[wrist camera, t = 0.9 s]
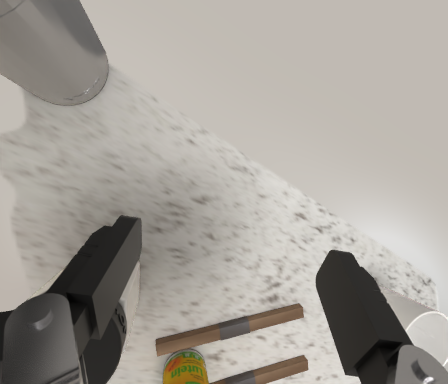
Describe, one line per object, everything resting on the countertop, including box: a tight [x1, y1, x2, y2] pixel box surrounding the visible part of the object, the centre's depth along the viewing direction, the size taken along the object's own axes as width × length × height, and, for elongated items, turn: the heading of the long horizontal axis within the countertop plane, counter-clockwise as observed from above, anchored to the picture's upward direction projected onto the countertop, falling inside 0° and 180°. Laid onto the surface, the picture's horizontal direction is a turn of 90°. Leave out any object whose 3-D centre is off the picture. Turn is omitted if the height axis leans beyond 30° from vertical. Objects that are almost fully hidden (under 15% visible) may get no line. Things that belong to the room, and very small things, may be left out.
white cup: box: [378, 285, 448, 367], centre depth 32 cm, size 8×8×10 cm
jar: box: [26, 261, 140, 384], centre depth 22 cm, size 9×8×12 cm
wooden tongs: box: [156, 304, 308, 384], centre depth 32 cm, size 10×20×1 cm, turn 97°
